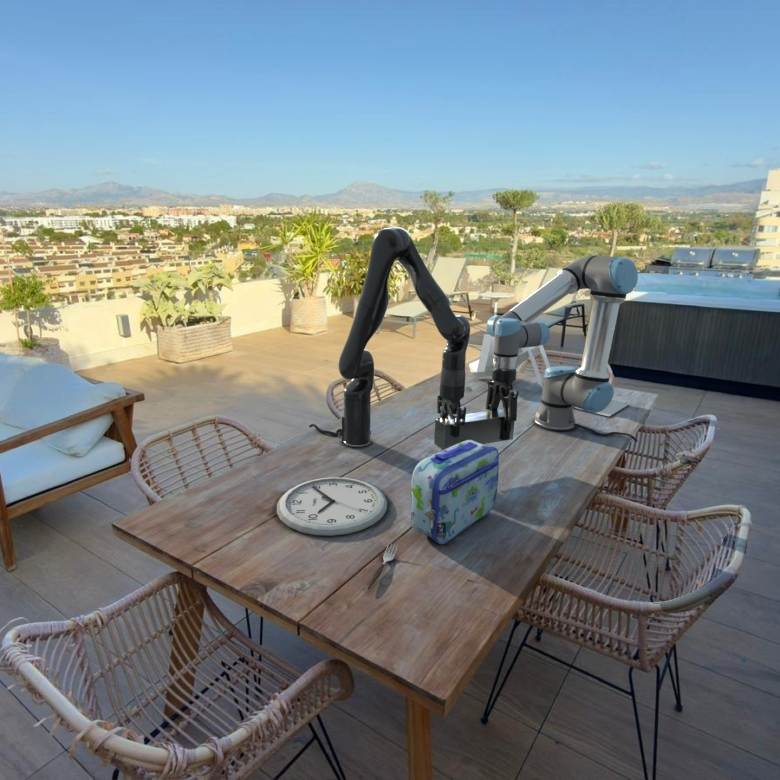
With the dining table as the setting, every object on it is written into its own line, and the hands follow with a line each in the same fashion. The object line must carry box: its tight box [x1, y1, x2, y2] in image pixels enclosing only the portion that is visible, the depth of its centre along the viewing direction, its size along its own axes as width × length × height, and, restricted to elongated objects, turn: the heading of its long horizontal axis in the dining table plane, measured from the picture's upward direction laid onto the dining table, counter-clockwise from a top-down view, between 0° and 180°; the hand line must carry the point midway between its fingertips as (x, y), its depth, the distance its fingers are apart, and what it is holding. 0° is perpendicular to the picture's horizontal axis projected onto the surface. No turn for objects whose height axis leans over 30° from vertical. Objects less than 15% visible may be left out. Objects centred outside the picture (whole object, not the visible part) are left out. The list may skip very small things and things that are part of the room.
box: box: [433, 408, 516, 451], centre depth 168 cm, size 26×6×8 cm, turn 113°
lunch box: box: [410, 440, 500, 545], centre depth 131 cm, size 26×11×21 cm, turn 134°
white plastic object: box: [468, 333, 551, 390], centre depth 257 cm, size 37×45×31 cm
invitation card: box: [573, 400, 629, 418], centre depth 226 cm, size 21×1×15 cm
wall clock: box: [276, 476, 388, 537], centre depth 142 cm, size 30×2×30 cm
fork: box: [367, 541, 399, 590], centre depth 116 cm, size 3×16×2 cm, turn 160°
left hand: (449, 432), depth 164 cm, fingers open, 7 cm apart
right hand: (498, 435), depth 172 cm, fingers closed on box, 6 cm apart
